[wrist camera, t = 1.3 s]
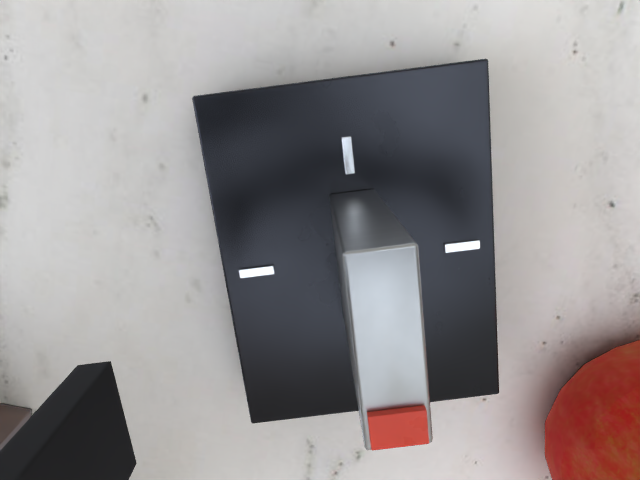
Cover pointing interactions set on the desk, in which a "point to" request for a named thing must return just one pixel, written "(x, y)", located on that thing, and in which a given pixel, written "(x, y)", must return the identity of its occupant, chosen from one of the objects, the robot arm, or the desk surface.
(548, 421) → the apple
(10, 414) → the block
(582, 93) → the desk surface
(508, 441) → the desk surface
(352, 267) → the stove knob
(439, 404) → the desk surface
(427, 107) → the panel
